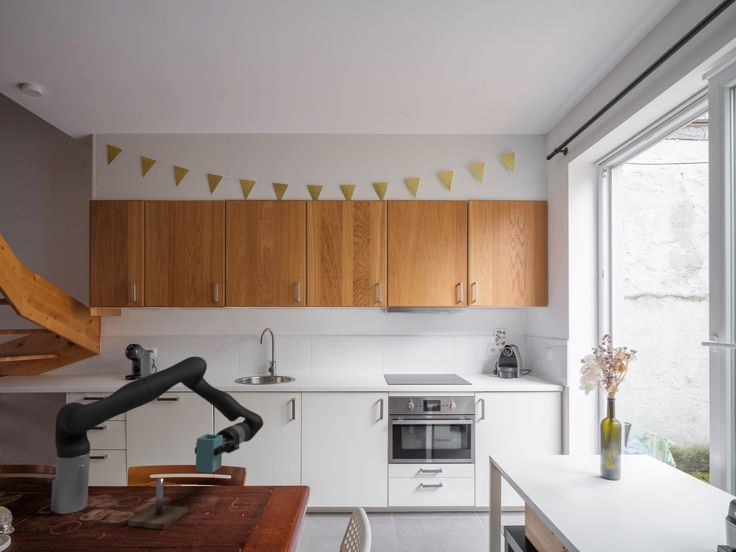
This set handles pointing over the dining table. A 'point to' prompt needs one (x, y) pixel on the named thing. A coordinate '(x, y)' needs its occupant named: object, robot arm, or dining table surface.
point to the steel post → (159, 496)
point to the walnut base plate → (157, 517)
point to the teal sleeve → (208, 453)
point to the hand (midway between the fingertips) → (205, 451)
